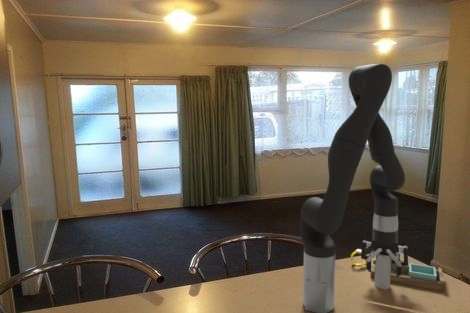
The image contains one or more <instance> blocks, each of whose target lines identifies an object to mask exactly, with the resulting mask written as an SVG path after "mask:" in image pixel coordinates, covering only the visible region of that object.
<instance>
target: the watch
mask: <svg viewBox="0 0 470 313" xmlns="http://www.w3.org/2000/svg"><path fill="white" fill-rule="evenodd" d="M361 251H362V248H357V249H355V250H354V251H353V252H352V253H351V254H350V261H351V263H352V265H354V266H360V267H361V266H362V264H363V265H367V261H366V260H365V259H364V261H363V262H361V263H358V262H357V263H355V262H354V260H353V258H354V255H356V254H361Z"/></svg>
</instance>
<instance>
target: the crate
mask: <svg viewBox="0 0 470 313" xmlns="http://www.w3.org/2000/svg"><path fill="white" fill-rule="evenodd" d="M408 265H409V273H408V277H414V278H419V279H425V280H431V281H436V282H437V280H438V278H437V275H436V270H437V269H436V266H431V265H430V266H429V265H424V264H417V263H412V262H408Z"/></svg>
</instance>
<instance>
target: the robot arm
mask: <svg viewBox="0 0 470 313" xmlns="http://www.w3.org/2000/svg"><path fill="white" fill-rule="evenodd" d="M392 82H393V73H392V70H391V68H390V66H389V65H387V64H386V63H372V64H365V65H360V66H357V67H355V68H353V69H352V70H351V71H350V74H349V76H348V87H349V91H350V94H351V96H352V98H353V101H354V104H355V106H356V107H355V108H354V109H353V111H352V113H351V114H350V115H349V116H348V117H347V118H346V119H345V120H344V122H343V123H342V124H341V125H340V126H339V127H338V129H337V130H336V131H335V134H334V136H333V139H332V141H331V144H330V147H329V150H328V153H327V169H328V185H327V188H326V192H325V194H324V198H320V197H319V196H318V197H316V196H314V197H310V198H308V199H307V200H306V201H305V202H304V203H303V204H302V206H301V210H300V238H301V242H302V245H303V285H302V288H303V290H302V291H303V292H302V296H303V297H302V302H303V303H302V304H303V306H304V310H305V311H308V312H313V313H330V312H331V311H333V310H334V308H335V284H336V283H335V280H336V277H335V276H336V274H335V273H336V244H335V243H336V242H334V240H333V239H332V238H331V236H330V235H332V234H334V233H335V232H337V231H338V229H339V227H340V225H341V224H342V221H343V218H344V214H345V209H346V206H347V203H348V199H349V194H350V191H351V188H352V184H353V183H354V178H355V176H356V173H357V169H358V168H359V165H360V163H361V162H360V161H361V160H362V157H363V154H364V152H365V148H366V145H368V149H369V154H370V155H369V156H370V157H371V160H372V161H373V162H374V163H377V164H378V165H375V166H374V167H373V168H372V170H371V172H370V174H369V184H370V187H371V192H372V193H371V194H372V197H373V199H374V205H373V208H374V209H373V210H374V211H373V217H372V238H371V239H372V241H368V240H366V239H363V240H362V243H361V250H362V251H361V255H360V259H362V260H364V261H365V260H366V261H367V263H366V270H367V271H368V273H371V270H372V262H373V260H374V258H375V259H376V256H377V255H378V254H382V255H389V256H390V257H391V258H392V259H393V260H394V261H395V262H396V264H397V271H396V274H397V275H396V277H399V276H401V275H402V272H401V269H402V266H408V265H409V249H408V248H409V247H408V245H406V244H405V245H399V244H398V237H399V236H398V234H399V218H398V214H399V200H398V198H397V197H396V196H395V195H393V194H392V193H391V192H390V191H399V190H401V189H402V188H403V186H404V185H405V181H406V174H405V170H404V169H403V167H402V166H403V165H402V164H401V162H400V160H399V158H398V155H396V153H395V146H394V142H393V137H392V134H391V133H392V132H391V131H390V128H389V126H388V125H387V123H386V122H385V120H384V118H382V116H381V115H380V112H379V111H380V110H381V107H382V105H383V104H384V102H385V100H386V97H387V96H388V93H389V91H390V89H391V86H392ZM398 245H399V246H398ZM369 247H371V250H372V251H371V252H370V253H369V254H366V253H367V249H369ZM398 250H400V254H403V259H402V260H401V257H400V258H399V257H398V255H397V254H396V252H397V251H398Z"/></svg>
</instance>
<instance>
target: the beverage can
mask: <svg viewBox="0 0 470 313" xmlns="http://www.w3.org/2000/svg"><path fill="white" fill-rule="evenodd" d="M391 259H392V258H391V257H390V256H389V255H382V254H378V255H377V256H376V257H375V260H376V261H375V279H374V286H375V287H376V288H378V289H381V290H389V289H390V287H391V282H390V277H391V274H392V270H391Z"/></svg>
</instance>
